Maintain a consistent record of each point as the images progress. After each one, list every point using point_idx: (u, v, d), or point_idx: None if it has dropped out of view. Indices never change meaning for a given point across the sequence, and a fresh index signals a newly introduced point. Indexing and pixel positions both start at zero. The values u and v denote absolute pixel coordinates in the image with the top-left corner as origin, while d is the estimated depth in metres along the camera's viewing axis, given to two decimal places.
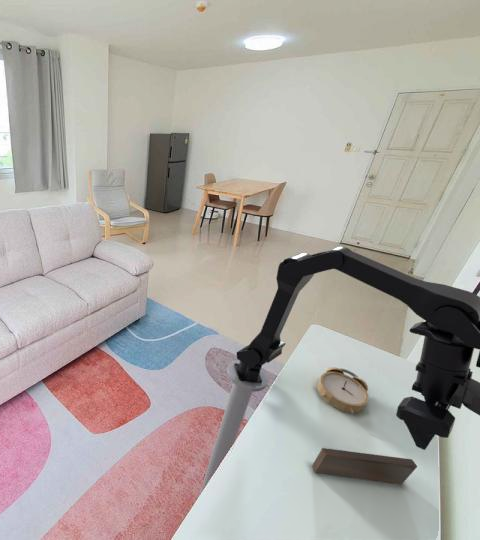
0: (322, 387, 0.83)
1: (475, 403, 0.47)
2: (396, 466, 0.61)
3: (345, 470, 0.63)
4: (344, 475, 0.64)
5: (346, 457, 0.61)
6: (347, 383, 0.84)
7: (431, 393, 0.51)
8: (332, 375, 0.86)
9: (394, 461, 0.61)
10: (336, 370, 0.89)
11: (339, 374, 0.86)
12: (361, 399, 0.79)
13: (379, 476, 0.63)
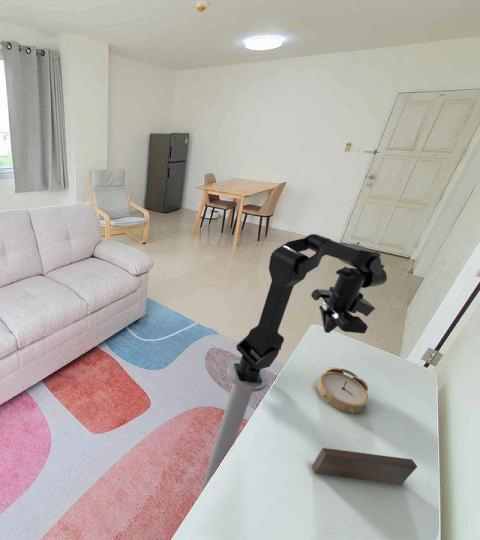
0: (322, 387, 0.83)
1: (362, 307, 0.83)
2: (396, 466, 0.61)
3: (345, 470, 0.63)
4: (344, 475, 0.64)
5: (346, 457, 0.61)
6: (347, 383, 0.84)
7: (344, 309, 0.83)
8: (332, 375, 0.86)
9: (394, 461, 0.61)
10: (336, 370, 0.89)
11: (339, 374, 0.86)
12: (361, 399, 0.79)
13: (379, 476, 0.63)
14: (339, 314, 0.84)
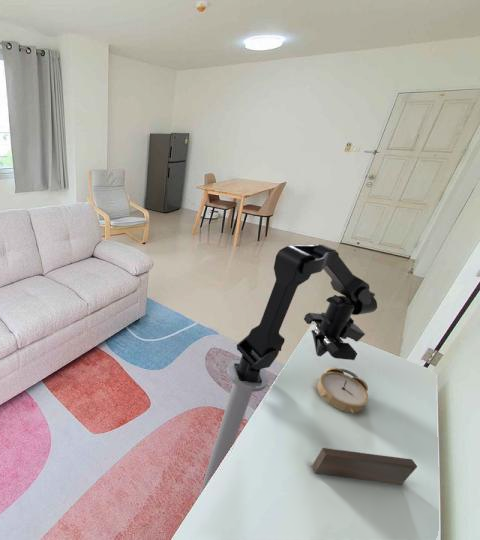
0: (322, 387, 0.83)
1: (352, 333, 0.86)
2: (396, 466, 0.61)
3: (345, 470, 0.63)
4: (344, 475, 0.64)
5: (346, 457, 0.61)
6: (347, 383, 0.84)
7: (334, 335, 0.86)
8: (332, 375, 0.86)
9: (394, 461, 0.61)
10: (336, 370, 0.89)
11: (339, 374, 0.86)
12: (361, 399, 0.79)
13: (379, 476, 0.63)
14: (330, 340, 0.87)
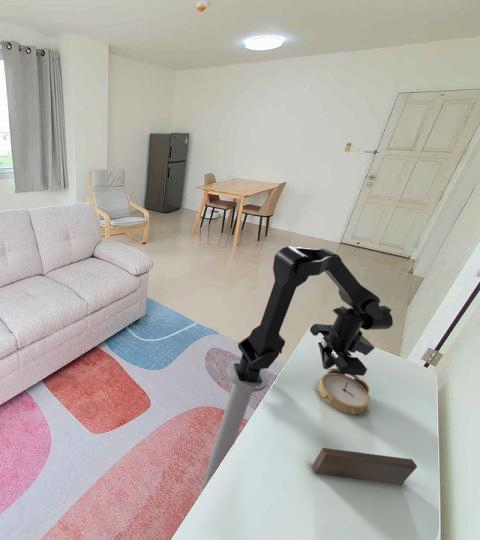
0: (323, 388, 0.83)
1: (361, 347, 0.82)
2: (396, 466, 0.61)
3: (345, 470, 0.63)
4: (344, 475, 0.64)
5: (346, 457, 0.61)
6: (348, 384, 0.83)
7: (343, 348, 0.82)
8: (333, 376, 0.86)
9: (394, 461, 0.61)
10: (337, 371, 0.88)
11: (340, 375, 0.86)
12: (363, 400, 0.79)
13: (379, 476, 0.63)
14: (338, 353, 0.83)
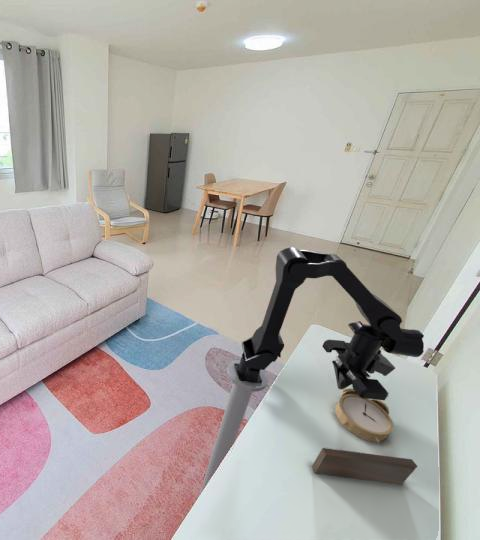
0: (342, 413, 0.75)
1: (380, 367, 0.75)
2: (396, 466, 0.61)
3: (345, 470, 0.63)
4: (344, 475, 0.64)
5: (346, 457, 0.61)
6: (367, 407, 0.77)
7: (360, 369, 0.75)
8: (350, 398, 0.79)
9: (394, 461, 0.61)
10: (352, 391, 0.82)
11: (357, 396, 0.79)
12: (385, 426, 0.73)
13: (379, 476, 0.63)
14: (355, 374, 0.76)
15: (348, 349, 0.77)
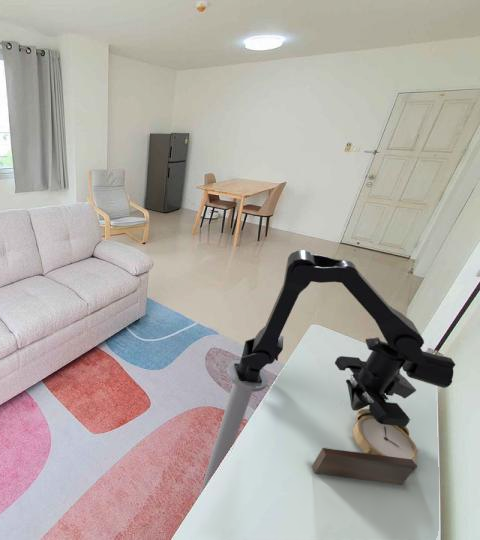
0: (363, 441, 0.69)
1: (400, 389, 0.69)
2: (396, 466, 0.61)
3: (345, 470, 0.63)
4: (344, 475, 0.64)
5: (346, 457, 0.61)
6: (386, 429, 0.71)
7: (378, 391, 0.69)
8: (367, 420, 0.73)
9: (394, 461, 0.61)
10: None
11: (374, 418, 0.74)
12: (410, 451, 0.67)
13: (379, 476, 0.63)
14: (372, 396, 0.70)
15: (364, 369, 0.71)
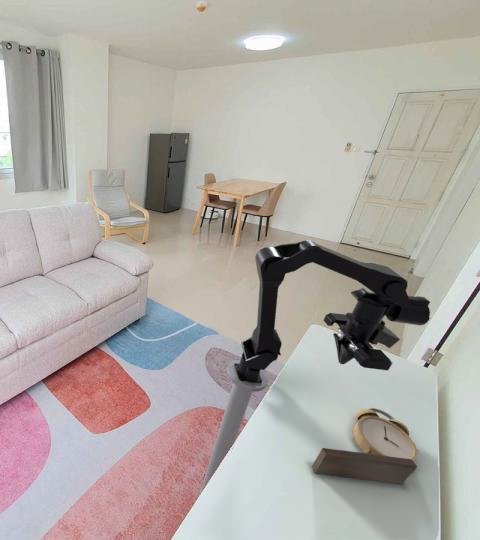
0: (363, 441, 0.69)
1: (384, 338, 0.71)
2: (396, 466, 0.61)
3: (345, 470, 0.63)
4: (344, 475, 0.64)
5: (346, 457, 0.61)
6: (387, 429, 0.71)
7: (363, 339, 0.72)
8: (367, 420, 0.73)
9: (394, 461, 0.61)
10: None
11: (374, 418, 0.74)
12: (410, 451, 0.67)
13: (379, 476, 0.63)
14: (357, 345, 0.72)
15: (350, 319, 0.73)
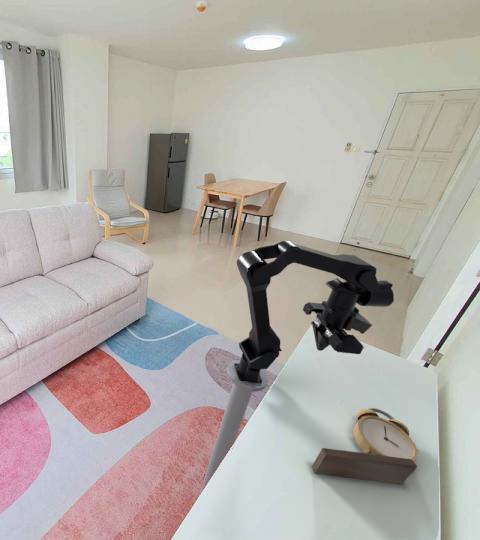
0: (363, 441, 0.69)
1: (357, 324, 0.75)
2: (396, 466, 0.61)
3: (345, 470, 0.63)
4: (344, 475, 0.64)
5: (346, 457, 0.61)
6: (387, 429, 0.71)
7: (337, 326, 0.76)
8: (367, 420, 0.73)
9: (394, 461, 0.61)
10: None
11: (374, 418, 0.74)
12: (410, 451, 0.67)
13: (379, 476, 0.63)
14: (332, 332, 0.76)
15: (325, 307, 0.77)
